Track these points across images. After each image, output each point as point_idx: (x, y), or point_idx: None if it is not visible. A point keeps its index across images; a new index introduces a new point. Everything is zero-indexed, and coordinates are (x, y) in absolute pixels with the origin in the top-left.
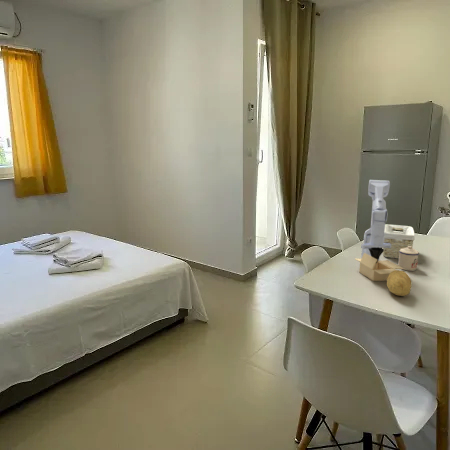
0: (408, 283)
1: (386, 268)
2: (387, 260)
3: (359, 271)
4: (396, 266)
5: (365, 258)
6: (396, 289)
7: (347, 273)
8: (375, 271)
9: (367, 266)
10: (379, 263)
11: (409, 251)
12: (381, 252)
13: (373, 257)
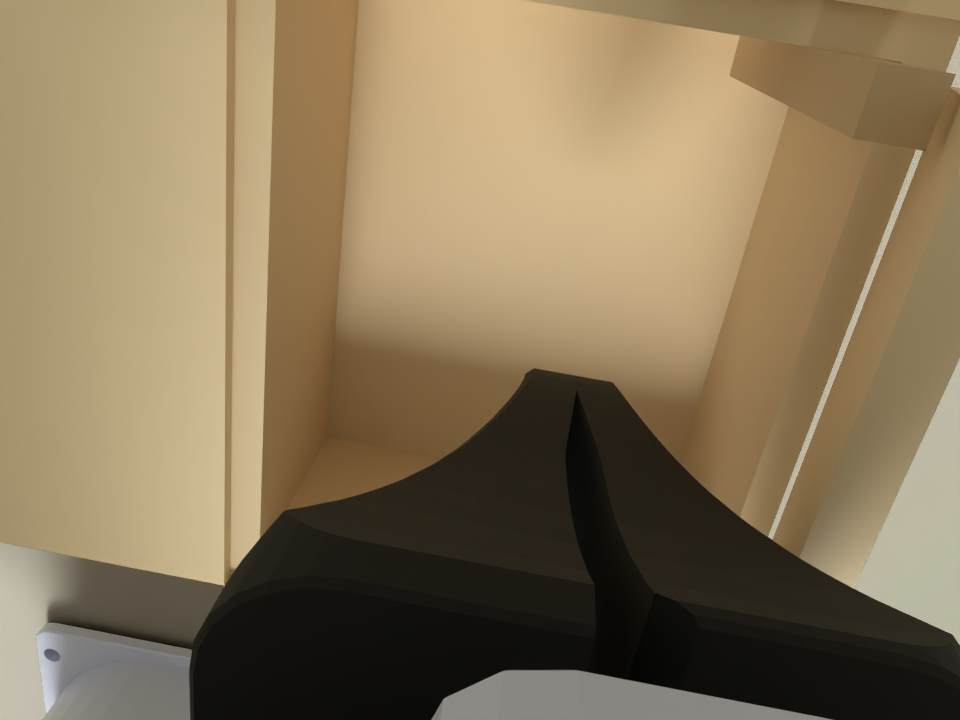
0: None
1: (290, 209)
2: (3, 530)
3: None
4: (16, 71)
5: None
6: None
7: (946, 542)
8: (887, 12)
9: (819, 387)
10: (271, 496)
11: None
12: (411, 512)
13: (847, 439)
